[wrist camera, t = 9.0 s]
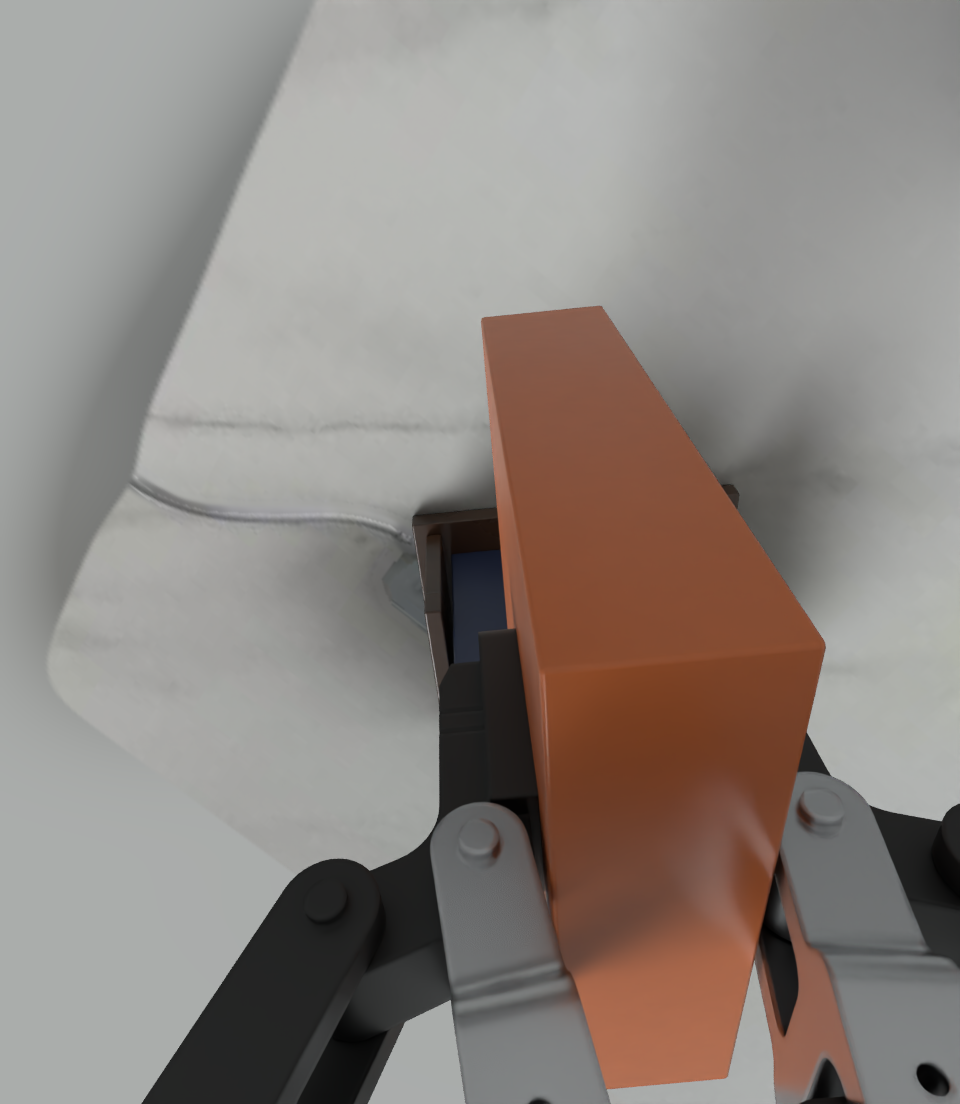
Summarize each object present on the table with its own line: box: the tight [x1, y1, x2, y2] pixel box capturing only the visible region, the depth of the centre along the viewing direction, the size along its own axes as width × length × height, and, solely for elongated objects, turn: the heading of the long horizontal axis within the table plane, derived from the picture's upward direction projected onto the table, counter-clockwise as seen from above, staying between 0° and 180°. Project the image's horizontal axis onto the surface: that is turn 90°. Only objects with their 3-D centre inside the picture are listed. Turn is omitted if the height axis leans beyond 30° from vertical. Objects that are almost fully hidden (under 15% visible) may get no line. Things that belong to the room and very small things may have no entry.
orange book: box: [481, 306, 826, 1089], centre depth 14 cm, size 3×9×11 cm, turn 5°
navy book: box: [451, 549, 508, 663], centre depth 28 cm, size 3×9×11 cm, turn 5°
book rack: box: [412, 485, 739, 700], centre depth 31 cm, size 13×12×6 cm
